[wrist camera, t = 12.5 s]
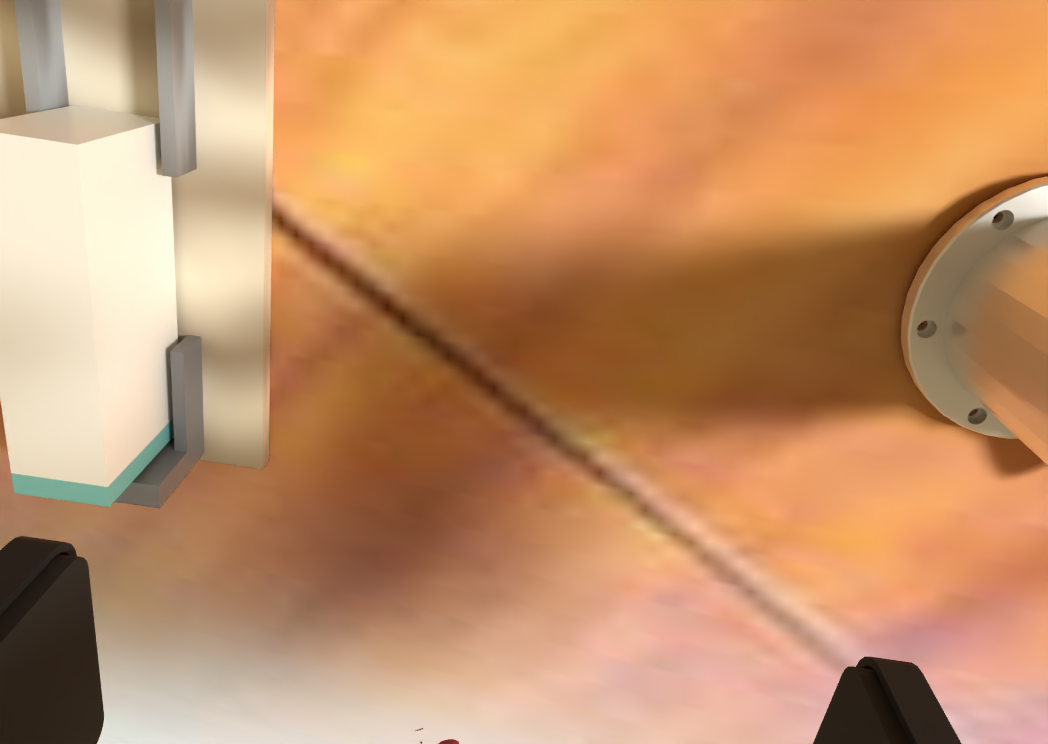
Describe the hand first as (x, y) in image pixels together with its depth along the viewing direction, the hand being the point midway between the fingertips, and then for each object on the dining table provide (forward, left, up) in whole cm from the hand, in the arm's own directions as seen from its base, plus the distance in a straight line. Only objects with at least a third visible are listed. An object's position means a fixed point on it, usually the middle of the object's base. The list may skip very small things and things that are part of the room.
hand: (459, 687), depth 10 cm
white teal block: (+8, +17, -27) cm, 33 cm away
